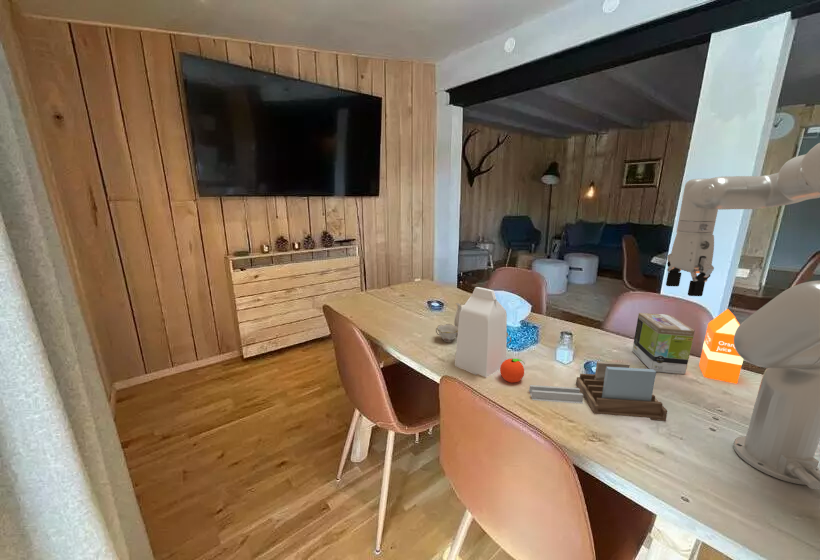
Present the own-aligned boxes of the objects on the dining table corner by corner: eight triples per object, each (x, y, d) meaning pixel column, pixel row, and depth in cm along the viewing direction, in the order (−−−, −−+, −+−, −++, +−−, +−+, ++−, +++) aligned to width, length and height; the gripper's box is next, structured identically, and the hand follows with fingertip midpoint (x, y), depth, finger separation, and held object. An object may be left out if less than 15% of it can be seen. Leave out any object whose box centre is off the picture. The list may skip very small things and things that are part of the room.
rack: (665, 420, 85) (671, 388, 83) (593, 415, 87) (598, 384, 85) (637, 389, 98) (642, 361, 96) (575, 385, 101) (579, 358, 98)
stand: (583, 405, 91) (584, 396, 91) (532, 401, 93) (532, 393, 92) (576, 394, 96) (578, 386, 95) (528, 391, 98) (529, 383, 97)
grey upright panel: (649, 411, 87) (656, 372, 85) (602, 408, 89) (608, 369, 86) (646, 408, 89) (653, 369, 86) (600, 404, 90) (606, 366, 87)
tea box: (687, 375, 106) (696, 330, 103) (650, 372, 108) (658, 327, 105) (662, 353, 121) (670, 313, 117) (631, 351, 123) (637, 311, 119)
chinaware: (433, 349, 128) (433, 308, 123) (438, 328, 144) (438, 291, 138) (511, 355, 123) (515, 313, 118) (507, 333, 139) (511, 294, 133)
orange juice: (729, 371, 109) (744, 310, 104) (737, 384, 101) (754, 319, 96) (698, 365, 112) (710, 306, 108) (703, 377, 105) (717, 314, 100)
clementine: (516, 372, 108) (518, 351, 106) (531, 383, 102) (533, 361, 100) (494, 377, 105) (496, 356, 104) (508, 389, 99) (510, 366, 97)
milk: (454, 365, 113) (457, 288, 106) (475, 354, 120) (478, 282, 114) (486, 379, 104) (490, 296, 98) (506, 366, 112) (511, 289, 106)
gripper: (736, 231, 82) (721, 300, 86) (689, 224, 98) (678, 283, 103) (701, 231, 83) (688, 299, 87) (660, 224, 99) (651, 282, 104)
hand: (682, 290), depth 95 cm, fingers open, 9 cm apart
